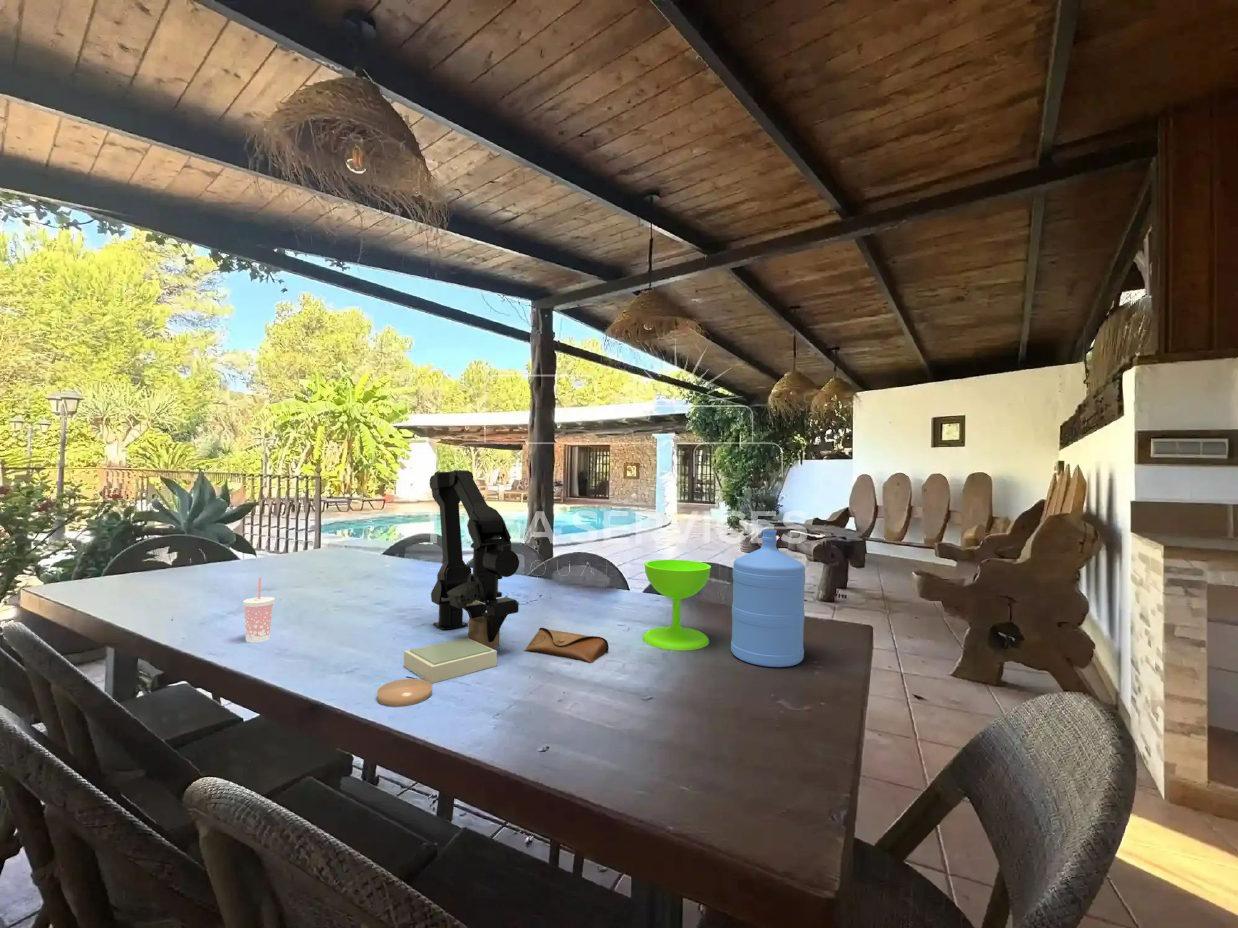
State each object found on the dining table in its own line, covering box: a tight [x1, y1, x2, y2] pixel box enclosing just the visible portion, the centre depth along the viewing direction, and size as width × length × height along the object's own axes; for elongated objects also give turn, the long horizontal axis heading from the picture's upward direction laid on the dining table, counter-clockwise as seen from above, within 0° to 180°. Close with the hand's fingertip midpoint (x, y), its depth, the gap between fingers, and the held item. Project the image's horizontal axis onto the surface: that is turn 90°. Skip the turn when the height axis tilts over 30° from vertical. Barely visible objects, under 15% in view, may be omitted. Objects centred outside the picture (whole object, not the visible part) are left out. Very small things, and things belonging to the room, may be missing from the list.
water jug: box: [730, 529, 806, 668], centre depth 123 cm, size 16×16×28 cm
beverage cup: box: [242, 577, 276, 643], centre depth 126 cm, size 6×6×14 cm
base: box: [403, 637, 498, 684], centre depth 112 cm, size 12×14×3 cm
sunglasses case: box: [522, 627, 610, 663], centre depth 123 cm, size 18×7×7 cm
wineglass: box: [642, 559, 712, 651], centre depth 133 cm, size 16×16×18 cm
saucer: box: [376, 678, 433, 707], centre depth 97 cm, size 9×9×1 cm
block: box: [467, 616, 501, 649], centre depth 125 cm, size 5×5×6 cm
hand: (483, 638), depth 125 cm, fingers open, 6 cm apart
